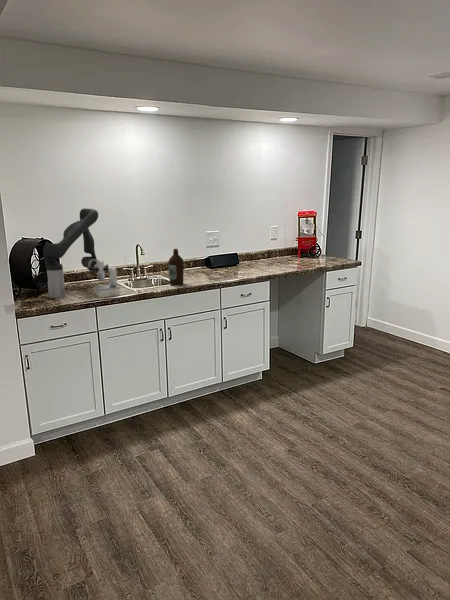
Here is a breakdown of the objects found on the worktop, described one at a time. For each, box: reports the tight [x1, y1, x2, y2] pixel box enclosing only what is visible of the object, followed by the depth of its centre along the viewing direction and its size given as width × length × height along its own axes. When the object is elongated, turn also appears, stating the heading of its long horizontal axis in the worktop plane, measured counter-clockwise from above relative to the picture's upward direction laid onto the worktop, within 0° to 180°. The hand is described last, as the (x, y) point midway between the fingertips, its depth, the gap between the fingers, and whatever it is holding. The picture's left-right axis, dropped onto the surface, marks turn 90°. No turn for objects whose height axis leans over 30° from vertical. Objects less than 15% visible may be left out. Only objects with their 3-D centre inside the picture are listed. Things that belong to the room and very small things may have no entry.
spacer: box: [96, 259, 106, 281], centre depth 289 cm, size 5×5×12 cm
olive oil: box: [167, 248, 185, 286], centre depth 316 cm, size 11×11×25 cm
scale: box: [93, 283, 121, 298], centre depth 290 cm, size 13×12×5 cm
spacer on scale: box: [108, 267, 118, 288], centre depth 287 cm, size 5×5×12 cm
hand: (101, 269), depth 286 cm, fingers closed on spacer, 4 cm apart
